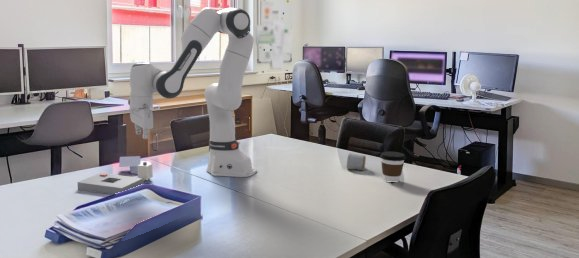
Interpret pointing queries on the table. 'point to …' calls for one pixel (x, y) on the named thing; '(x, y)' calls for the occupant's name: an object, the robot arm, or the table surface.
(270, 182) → the table surface
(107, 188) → the socket plate
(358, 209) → the table surface
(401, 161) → the coffee cup
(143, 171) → the plug
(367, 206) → the table surface
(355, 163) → the grey rounded block
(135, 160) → the wedge on round base
